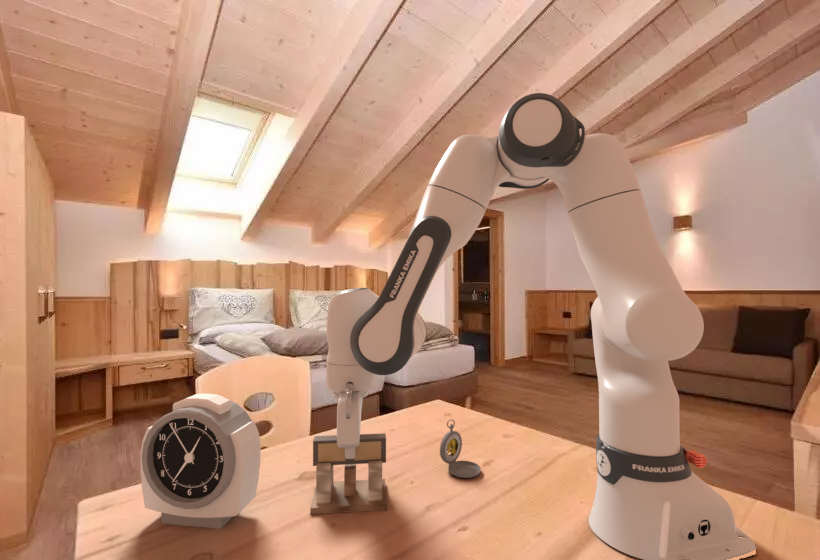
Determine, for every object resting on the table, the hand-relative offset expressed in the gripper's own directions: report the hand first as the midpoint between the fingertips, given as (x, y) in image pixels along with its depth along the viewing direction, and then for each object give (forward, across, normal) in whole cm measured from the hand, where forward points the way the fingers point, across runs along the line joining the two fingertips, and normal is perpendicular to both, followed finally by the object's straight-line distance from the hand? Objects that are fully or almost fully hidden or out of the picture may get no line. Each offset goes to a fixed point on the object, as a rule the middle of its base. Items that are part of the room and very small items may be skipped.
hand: (350, 452), depth 73 cm
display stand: (+8, 0, 0) cm, 8 cm away
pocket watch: (+8, +9, -22) cm, 26 cm away
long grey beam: (+2, 0, 0) cm, 2 cm away
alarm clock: (+8, -3, +25) cm, 26 cm away
